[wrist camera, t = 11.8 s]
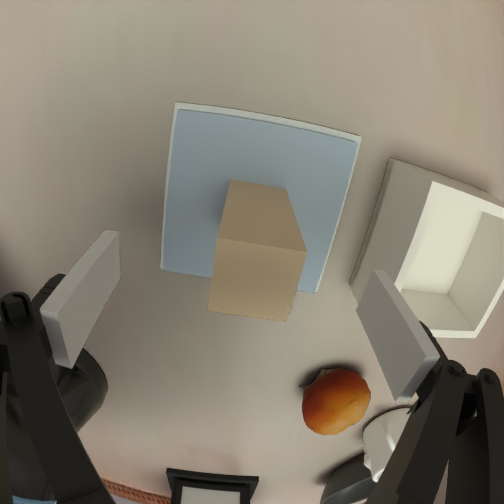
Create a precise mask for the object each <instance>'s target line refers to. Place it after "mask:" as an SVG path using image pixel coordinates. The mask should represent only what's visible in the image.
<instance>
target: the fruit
mask: <svg viewBox="0 0 504 504" xmlns="http://www.w3.org/2000/svg"><path fill="white" fill-rule="evenodd" d="M300 387H301V388H303V389H304V395H303V402H302V413H303V418H304V421H305V423H306V425H307V427H308V428H310V429H311V430H313V431H314V432H316V433H319V434H321V435H334V434H338V433H340V432H342V431H344V430H345V429H346V428H347V427H349V426H351V425H354V424H355V423H357V422H359V421H360V420H361V419H362V418H363V417H364V415H365V412H366V410H367V407H368V405H369V402H370V399H371V392H370V390H369V388H368V385H367V383H366V381H365V380H364V379H363V378H361V377H360V376H359V375H358V374H357V373H355V372H353V371H351V370H346V369H342V368H337V369H331V370H324V369H321V371H320V374H319V375H318V377H317V378H316V379H315V381H314V382H313V383H312V384H311V385H309V386H306V387H302V386H300Z"/></svg>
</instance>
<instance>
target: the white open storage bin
mask: <svg viewBox="0 0 504 504" xmlns="http://www.w3.org/2000/svg"><path fill="white" fill-rule="evenodd" d="M373 269H376V270H382V271H385V272H386V273H387V275H388V276H389V278H390V279H391V280H392V282H393V283H394V285H395V286H396V288H397V289H398V291H399V292H400V293H401V295H402V296H403V298H404V299H405V301H406V302H407V304H408V305H409V307H410V308H411V310H412V312H413V313H414V315H415V316H416V318H417V319H418V321H422V322H423V323H424V324H425V325H426V326H427V327H428V328H429V330H430V331H431V333H432V334H433V336H434V337H447V338H476V337H477V335H478V333H479V332H480V330H481V329H482V327H483V325H484V324H485V322H486V320H487V318H488V317H489V315H490V313H491V312H492V310H493V308H494V306H495V304H496V303H497V301H498V299H499V297H500V295H501V293H502V291H503V289H504V202H503V201H501V200H499V199H498V198H496V197H494V196H492V195H491V194H489V193H487V192H485V191H482V190H480V189H477V188H475V187H472V186H470V185H467V184H465V183H462V182H460V181H457V180H454V179H452V178H449V177H446V176H444V175H441V174H438V173H435V172H433V171H430V170H427V169H424V168H421V167H418V166H415V165H412V164H409V163H406V162H403V161H399V160H396V159H393V158H389V162H388V166H387V169H386V173H385V176H384V180H383V183H382V187H381V190H380V194H379V197H378V200H377V203H376V207H375V210H374V213H373V216H372V219H371V222H370V225H369V228H368V232H367V235H366V237H365V240H364V243H363V246H362V249H361V252H360V255H359V258H358V261H357V263H356V266H355V269H354V272H353V274H352V277H351V280H350V282H349V285H350V287H351V289H352V291H353V294H354V296H355V298H356V300H357V302H358V305H359V303H360V300H361V298H362V295H363V293H364V290H365V288H366V285H367V283H368V280H369V278H370V275H371V273H372V270H373Z"/></svg>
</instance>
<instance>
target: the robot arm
mask: <svg viewBox="0 0 504 504" xmlns="http://www.w3.org/2000/svg"><path fill="white" fill-rule="evenodd" d="M119 280H120V251H119V232H118V231H111V230H105V231H104V232H103V233H102V234H101V235H100V236H99V237H98V239H97V240H96V241H95V242H94V243H93V244H92V245H91V246H90V248H89V249H88V250H87V251H86V252H85V253H84V255H83V256H82V257H81V258H80V259H79V260H78V262H77V263H76V264H75V265H74V266H73V267H72V269H71V270H70V271H69V272H68V274H67V275H64V274H57V275H55V276H54V277H52V278H50V279H49V280H48V282H47V283H46V284H45V285H44V287H43V288H42V289H41V290H40V292H39V293H38V294H37V295H36V296H35V297H34V298H33V300H32V301H31V302H30V298H29V296H28V295H27V294H25V293H23V292H12V293H9V294H6V295H5V296H4V297H2V298H1V299H0V315H1V318H2V321H0V504H55V502H56V501H57V503H56V504H116V503H115V501H114V499H113V498H112V496H111V495H110V493H109V491H108V490H107V488H106V486H105V485H104V483H103V481H102V480H101V478H100V476H99V474H98V473H97V471H96V469H95V467H94V465H93V464H92V462H91V460H90V458H89V456H88V454H87V452H86V450H85V448H84V446H83V444H82V442H81V440H80V438H79V436H78V434H77V433H78V431H79V430H80V429H81V428H82V427H83V426H84V425H85V424H86V422H87V421H88V420H89V419H90V418H91V417H92V416H93V415H94V414H95V413H96V412H97V410H98V409H99V408H100V407H101V405H102V404H103V401H104V398H105V396H106V393H107V381H106V378H105V376H104V374H103V372H102V370H101V369H100V367H99V366H98V364H97V363H96V362H95V361H94V360H93V358H92V357H91V356H90V355H89V354H88V353H87V352H86V351H84V350H83V349H82V348H83V346H84V344H85V342H86V340H87V338H88V336H89V334H90V332H91V330H92V328H93V327H94V325H95V323H96V321H97V319H98V317H99V316H100V314H101V312H102V310H103V308H104V306H105V305H106V303H107V301H108V299H109V298H110V296H111V294H112V292H113V291H114V289H115V287H116V285H117V284H118V282H119ZM356 311H357V314H358V316H359V318H360V320H361V322H362V325H363V327H364V329H365V331H366V334H367V336H368V338H369V340H370V343H371V345H372V347H373V350H374V352H375V354H376V356H377V359H378V361H379V364H380V366H381V368H382V371H383V373H384V375H385V378H386V380H387V383H388V385H389V388H390V390H391V393H392V395H393V398H394V400H395V402H400V401H409V400H410V399H411V397H412V396H413V395H414V393H415V392H416V393H417V395H418V397H419V398H418V400H417V401H416V402H415V403H414V405H413V406H412V407H411V408H410V410H409V411H408V412H407V413H406V414H409V413H410V412H411V413H410V416H409V418H408V420H407V423H406V425H405V427H404V430H403V432H402V434H401V436H400V438H399V440H398V443H397V445H396V447H395V449H394V451H393V453H392V455H391V457H390V459H389V461H388V463H387V465H386V467H385V469H384V471H383V472H382V474H381V476H380V478H379V480H378V482H377V483H376V485H375V487H374V489H373V490H372V492H371V494H370V495H369V497H368V499H367V501H366V502H365V504H433V502H434V500H435V497H436V494H437V492H438V489H439V486H440V483H441V480H442V477H443V474H444V471H445V468H446V465H447V462H448V459H449V463H448V478H447V490H446V499H445V504H504V397H503V392H502V388H501V383H500V380H499V377H498V376H497V375H496V373H495V372H494V371H492V370H490V369H487V368H483V369H481V370H480V371H479V373H478V374H477V375H476V376H475V375H471V374H467V372H466V370H465V368H464V367H463V366H462V365H461V364H460V363H458V362H456V361H454V360H448V358H447V357H446V355H445V353H444V352H443V350H442V349H441V347H440V345H439V344H438V342H436V339H435V337H434V336H433V334H432V333H431V331H430V330H429V328H428V327H427V326H426V325H425V324H424V323H423V322H422V321H418V319H417V318H416V316H415V315H414V313H413V312H412V310H411V308H410V307H409V305H408V304H407V302H406V301H405V299H404V298H403V296H402V295H401V293H400V292H399V291H398V289H397V288H396V286H395V285H394V283H393V282H392V280H391V279H390V278H389V276H388V275H387V273H386V272H385V271H382V270H376V269H373V270H372V273H371V275H370V278H369V280H368V283H367V285H366V288H365V290H364V293H363V295H362V298H361V300H360V303H359V305H358V307H357V310H356ZM476 413H477V415H476V417H475V414H476Z"/></svg>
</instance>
